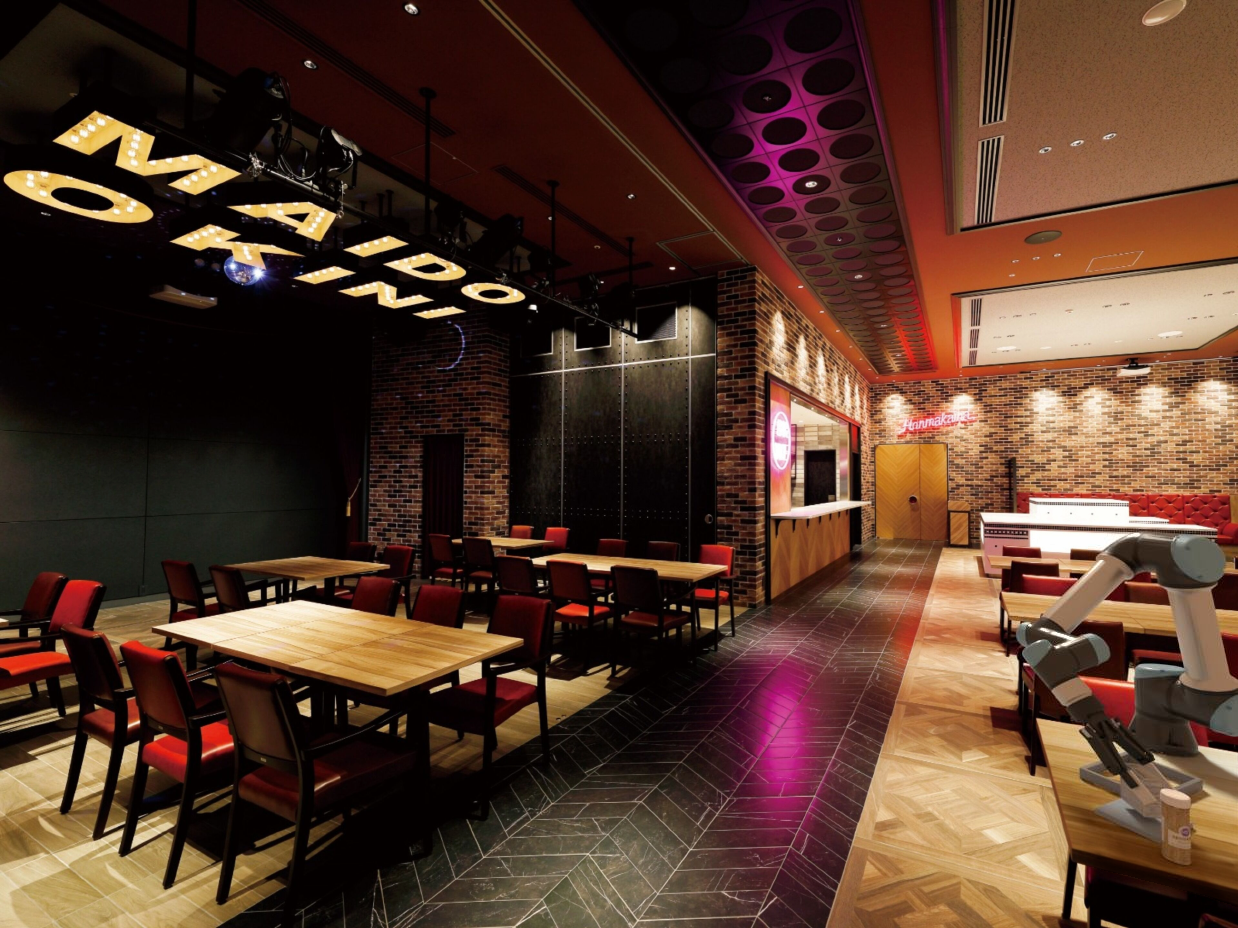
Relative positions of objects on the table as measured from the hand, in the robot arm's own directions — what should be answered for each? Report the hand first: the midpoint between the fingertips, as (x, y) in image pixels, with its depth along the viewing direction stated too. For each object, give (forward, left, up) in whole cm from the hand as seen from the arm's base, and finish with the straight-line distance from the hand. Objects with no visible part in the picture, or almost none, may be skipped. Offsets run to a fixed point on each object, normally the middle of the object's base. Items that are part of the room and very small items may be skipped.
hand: (1161, 798), depth 129 cm
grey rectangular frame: (-19, -12, -7) cm, 24 cm away
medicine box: (0, -3, -4) cm, 6 cm away
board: (0, -3, -7) cm, 8 cm away
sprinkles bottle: (+10, +7, -7) cm, 14 cm away
